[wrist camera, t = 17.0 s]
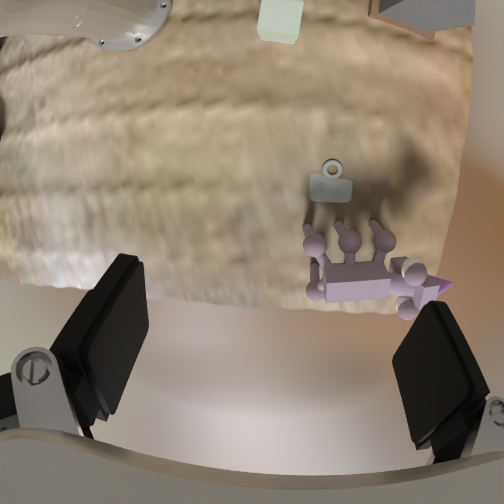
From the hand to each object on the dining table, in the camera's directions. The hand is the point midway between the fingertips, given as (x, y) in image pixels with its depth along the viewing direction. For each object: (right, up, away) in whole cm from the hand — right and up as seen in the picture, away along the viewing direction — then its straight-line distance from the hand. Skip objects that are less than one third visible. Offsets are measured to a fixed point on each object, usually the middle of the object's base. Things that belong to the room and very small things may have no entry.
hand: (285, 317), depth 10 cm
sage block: (+2, +29, +20) cm, 35 cm away
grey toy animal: (+16, +3, +35) cm, 39 cm away
